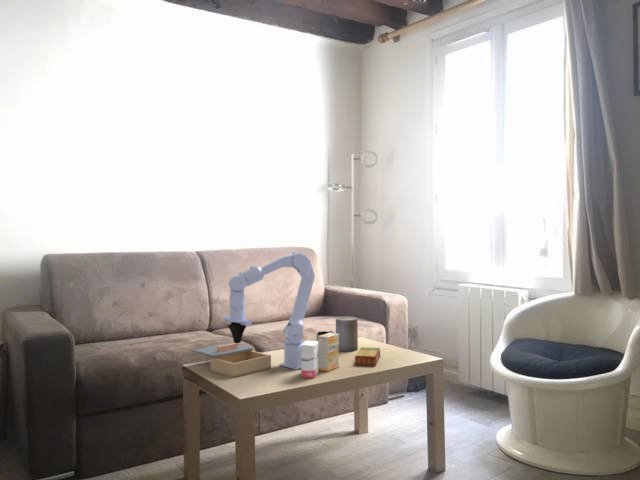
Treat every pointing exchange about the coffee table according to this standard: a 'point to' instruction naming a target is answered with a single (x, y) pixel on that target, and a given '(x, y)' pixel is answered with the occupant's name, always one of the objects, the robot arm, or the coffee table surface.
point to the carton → (367, 356)
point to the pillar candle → (347, 333)
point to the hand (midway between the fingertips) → (237, 342)
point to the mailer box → (240, 363)
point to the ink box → (309, 359)
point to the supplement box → (328, 351)
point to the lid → (222, 350)
